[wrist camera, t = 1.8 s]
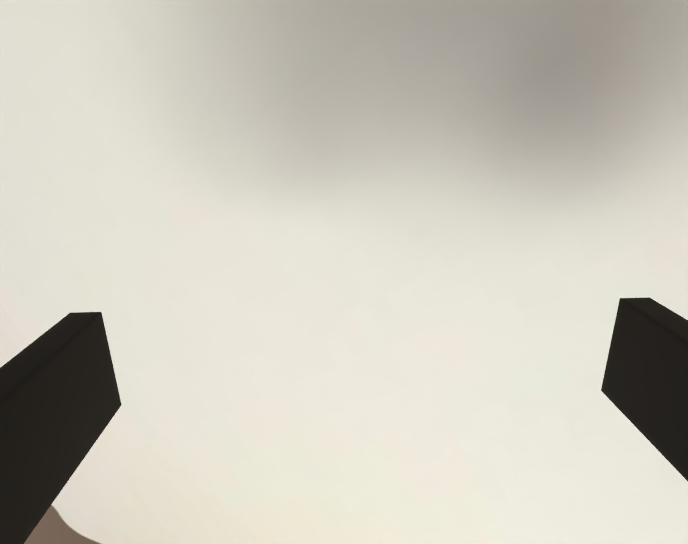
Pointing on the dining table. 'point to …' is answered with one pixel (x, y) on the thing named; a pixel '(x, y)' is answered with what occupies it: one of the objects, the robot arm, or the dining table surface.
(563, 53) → the dining table surface
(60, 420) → the robot arm
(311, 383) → the dining table surface
